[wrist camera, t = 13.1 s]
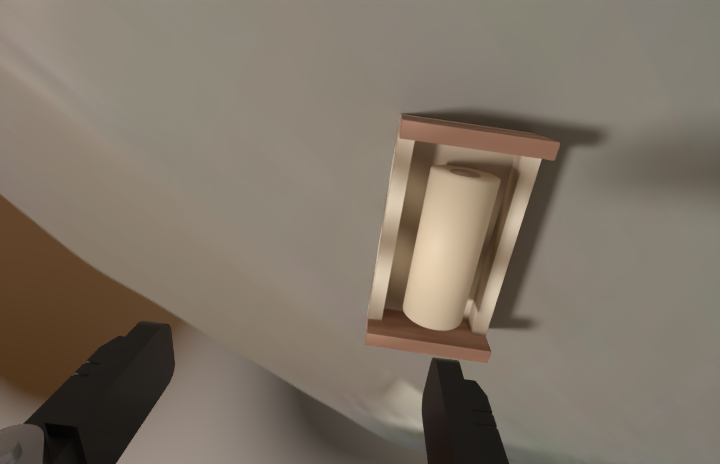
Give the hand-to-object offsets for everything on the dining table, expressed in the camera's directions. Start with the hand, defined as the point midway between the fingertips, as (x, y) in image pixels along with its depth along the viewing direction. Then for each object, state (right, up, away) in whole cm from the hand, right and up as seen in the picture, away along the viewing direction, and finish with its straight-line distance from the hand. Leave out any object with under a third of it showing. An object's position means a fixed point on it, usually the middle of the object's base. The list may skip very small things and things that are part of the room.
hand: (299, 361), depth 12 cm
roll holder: (+9, +4, +21) cm, 23 cm away
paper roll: (+9, +3, +18) cm, 20 cm away
